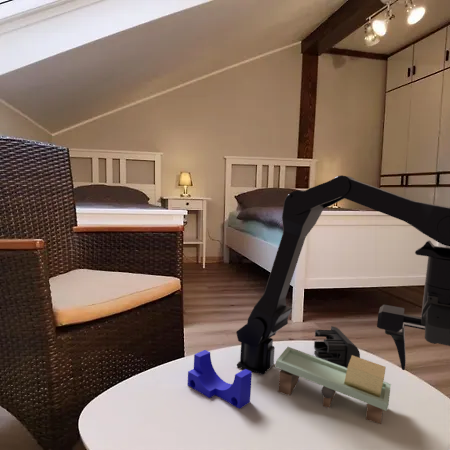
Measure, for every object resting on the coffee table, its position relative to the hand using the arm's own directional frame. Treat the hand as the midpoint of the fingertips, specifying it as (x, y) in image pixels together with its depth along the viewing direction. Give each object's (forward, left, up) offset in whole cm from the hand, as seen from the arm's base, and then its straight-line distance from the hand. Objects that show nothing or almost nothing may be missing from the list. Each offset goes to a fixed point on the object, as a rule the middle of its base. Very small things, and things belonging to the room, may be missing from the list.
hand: (433, 376), depth 61 cm
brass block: (-11, 0, -5) cm, 12 cm away
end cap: (-18, +16, -10) cm, 26 cm away
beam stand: (-16, 0, -9) cm, 19 cm away
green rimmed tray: (-16, 0, -5) cm, 17 cm away
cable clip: (-35, -10, -10) cm, 38 cm away
